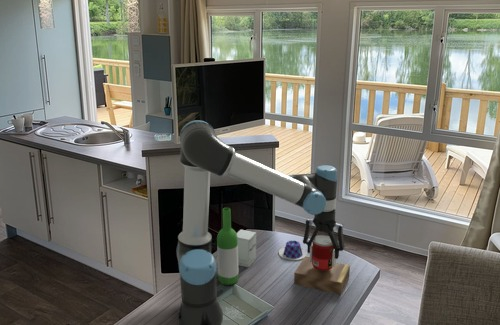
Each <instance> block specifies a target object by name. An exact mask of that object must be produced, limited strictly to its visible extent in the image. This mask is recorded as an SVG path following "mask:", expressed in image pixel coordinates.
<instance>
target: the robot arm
mask: <svg viewBox="0 0 500 325" xmlns="http://www.w3.org/2000/svg"><path fill="white" fill-rule="evenodd" d="M181 128H182V129H181V131H180V133H179V142H180V155H179V156H180V161H179V162H180V164H181V165H182V166H183V167H184V177H183V178H184V179H183V180H184V182H183V183H184V184H183V186H184V187H183V209H182V210H183V214H182V215H183V218H182V221H183V222H182V231H181V232H180V233H179V234H178V235H177V239H178V240H177V246H176V258H177V261H178V262H177V265H178V271H179V282H180V294H181V302H180V306H179V309H178V312H177V324H178V325H221V324H222V323H223V320H224V317H223V316H224V313H223V308H222V307H221V305H220V302H219V300H218V292H217V291H218V289H217V263H216V258H215V257H214V255H213V254H212V238H213V237H212V234H211V233H210V232H209V212H210V210H209V209H210V208H209V206H210V192H211V191H210V186H211V173H212V174H214V175H215V176H216V175H217V176H219V177H223V176H228V177H230V178H233V179H235V180H237V181H238V182H241V183H243V184H247V185H249V186H251V187H253V188H256V189H259V190H261V191H263V192H265V193H267V194H270V195H273V196H274V197H277V198H279V199H282V200H284V201H287V202H289V203H291V204H293V205H295V206H298V207H300V208H302V209H303V210H304V211H305V213H307V214H309V215H312V216H313V217H314V218H310V217H307V219H306V220H305V229H304V235H303V240H302V244H303V245H307V249H306V251H307V254H309V257H310V262H312V248H313V239H314V238H315V237H316V236H318V234H319V232H324V233H327V236H329V237H330V239H331V242H332V243H333V247H334V250H333V256H332V267H334V266H335V264H336V263H337V259H338V258H339V256H340V252H343V250H344V249H345V239H344V233H343V228H344V224H343V223H337V221H336V208H337V206H336V204H337V191H338V190H337V187H338V170H337V168H336V167H334V166H332V165H328V164H327V165H326V164H324V165H322V164H321V165H319V166H317V167H316V169H315V172H313V173H312V172H311V173H301V174H298V173H297V174H290V175H288V174H285V173H283V172H280V171H279V170H276V169H273V168H272V167H269V166H267V165H265V164H262V163H260V162H258V161H255V160H254V159H252V158H249V157H247V156H245V155H242V154H240V153H238V152H236V151H235V148H234V147H233V146H230V145H228V144H226V143H225V142H223V141H222V140H221V139H220V138H219V137H218V135H217V133H216V131H215V129H214V127H213V126H212V125H211V124H210V123H208V122H206V121H204V120H199V119H198V120H197V119H196V120H191V121H189V122H187V123H186V124H185V125H184V126H183V127H181ZM313 224H314V226H315V229H314V231H313V233H312V234H311V237H310V238H309V236H310V231H311V227H312V225H313ZM334 228H336V231H337V237H338V240H337V237H336V233H335V230H334Z"/></svg>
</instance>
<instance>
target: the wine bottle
mask: <svg viewBox="0 0 500 325" xmlns="http://www.w3.org/2000/svg"><path fill="white" fill-rule="evenodd" d="M231 213H232V212H231V208H230V207H227V206H226V207H224V208H222V228H221V229H220V230H219V231H218V232H217V233H218V234H217V236H216V244H217V245H216V247H217V250H216V251H217V273H218V274H217V275H218V281H219V283H220V284H223V285H225V286H227V285H228V286H231V285H234V284H236V283H237V282H238V280H239V278H240V277H239V265H238V237H237V232H236V231H235V229H233V227H232V214H231ZM233 283H234V284H233ZM230 284H231V285H230Z"/></svg>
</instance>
